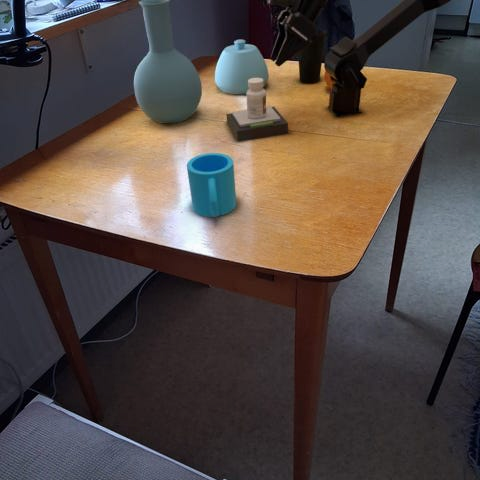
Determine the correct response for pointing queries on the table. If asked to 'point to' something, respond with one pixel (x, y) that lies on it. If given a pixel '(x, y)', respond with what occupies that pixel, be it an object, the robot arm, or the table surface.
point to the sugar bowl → (239, 68)
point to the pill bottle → (256, 98)
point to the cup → (312, 59)
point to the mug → (212, 184)
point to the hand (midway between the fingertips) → (274, 62)
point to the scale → (256, 124)
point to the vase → (165, 71)
